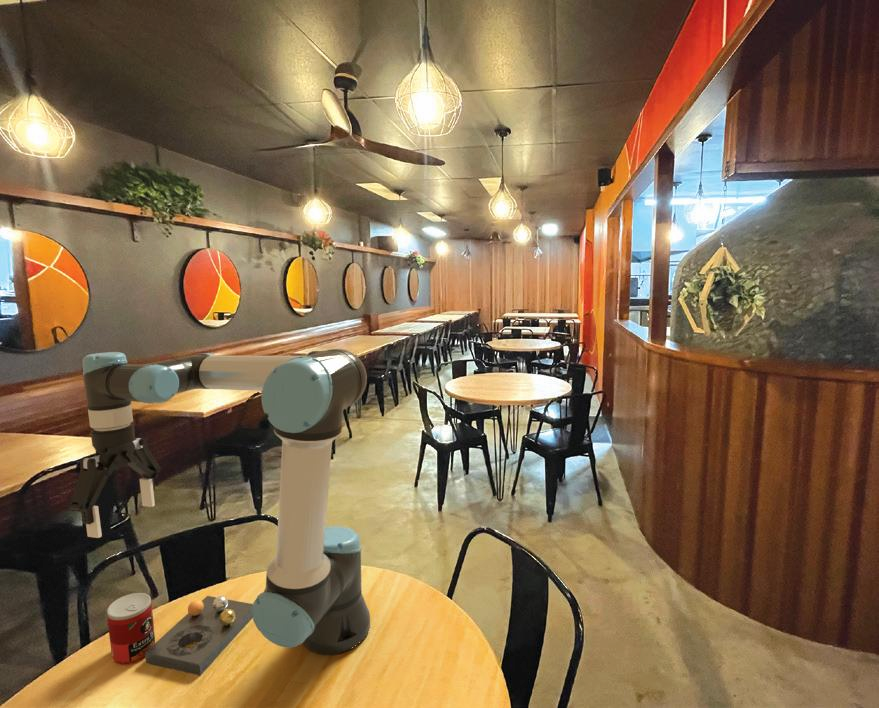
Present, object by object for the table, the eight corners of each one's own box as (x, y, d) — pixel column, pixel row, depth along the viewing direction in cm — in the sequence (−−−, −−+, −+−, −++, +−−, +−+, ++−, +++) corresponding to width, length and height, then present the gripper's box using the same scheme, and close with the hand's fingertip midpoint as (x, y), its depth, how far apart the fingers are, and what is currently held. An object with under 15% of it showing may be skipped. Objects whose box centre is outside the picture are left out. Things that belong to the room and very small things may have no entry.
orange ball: (207, 610, 108) (206, 597, 108) (197, 620, 105) (196, 607, 105) (195, 608, 109) (194, 595, 109) (185, 617, 106) (183, 604, 105)
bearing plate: (255, 614, 111) (255, 604, 110) (200, 675, 93) (199, 664, 93) (208, 605, 114) (207, 595, 113) (146, 663, 96) (144, 652, 96)
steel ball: (231, 606, 110) (230, 593, 109) (222, 615, 107) (221, 602, 106) (219, 604, 110) (218, 591, 110) (210, 613, 107) (209, 600, 107)
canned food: (135, 669, 95) (130, 619, 93) (102, 662, 97) (96, 614, 95) (164, 641, 102) (160, 594, 101) (133, 635, 104) (128, 590, 102)
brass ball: (238, 620, 105) (237, 607, 105) (229, 630, 102) (228, 616, 102) (226, 617, 106) (225, 604, 105) (216, 627, 103) (215, 614, 102)
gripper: (145, 409, 112) (154, 493, 115) (36, 444, 88) (51, 549, 91) (172, 411, 111) (180, 496, 114) (69, 446, 87) (83, 553, 90)
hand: (123, 520), depth 103 cm, fingers open, 13 cm apart
